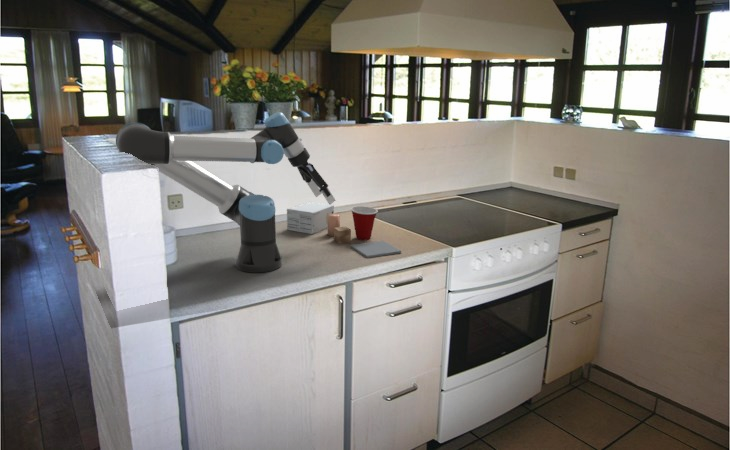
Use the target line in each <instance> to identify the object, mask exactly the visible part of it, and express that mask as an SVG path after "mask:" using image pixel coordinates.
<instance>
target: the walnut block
mask: <svg viewBox="0 0 730 450" xmlns="http://www.w3.org/2000/svg"><path fill="white" fill-rule="evenodd" d="M333 241H336V242H337V243H338V244H342V243H343V244H345V243H350V242H351V241H352V229H351V228H349V227H347V226H340V227H336V228H334V236H333Z"/></svg>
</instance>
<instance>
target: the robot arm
mask: <svg viewBox="0 0 730 450" xmlns="http://www.w3.org/2000/svg"><path fill="white" fill-rule="evenodd" d="M264 126H265V127H264V128H263V129H262V130H260V131H259V132H258V133H255V134H254V135H253V136H252V137H250V138H240V137H239V138H238V137H237V138H236V137H217V136H191V135H190V136H188V135H172V134H171V133H170V132H169V131H157V130H153V129H151V128H150V127H149V126H148V125H146V124H144V123H141V122H135V121H134V122H130V123H127V124H125V125H123V126H122V127H121V128H120V129H119V130H118V132H117V134H116V136H115V145H116V149H117V150H118V149H119V150H118V152H119V153H120V152H125V153H128V154H129V153H130V154H132V155H133V156H135V157H137V158H138V159H140V160H142V161H144V162H146V163H148V164H151V165H154V166H156V167H158V168H159V171H158V172H160V173H161V174H163V175H164V176H166V177H168V178H169V179H171V180H173V181H174V182H176V183H178V184H180V185H181V186H183V187H184V188H186V189H188V190H190V191H191V192H193V193H194V194H196V195H198V196H199V197H201V198H203V199H205V200H206V201H208V202H210V203H211V204H213V205H214V206H215V207H218V208H217V209H218V212H219V213H220V214H221V215H223V216H225V217H226V218H228V219H230V220H231V221H233V222H234V223H236V224H237V225H238V226H239V231H240V247H239V250H238V254H237V257H236V268H237V269H238V270H240V271H242V272H245V273H254V274H255V273H267V272H272V271H275V270H277V269H280V267H282V265H283V262H282V256H281V253H280V250H279V248H278V244H277V239H276V238H277V237H276V235H277V234H276V232H277V230H276V205H275V201H274V199H273V198H271V197H270V196H267V195H263V194H255V193H253V192H252V191H248V190H247V189H246V188H245V187H243V186H241V185H240V184H232V185H231V184H229V183H228V182H227V181H225V180H223V179H221V177H219V176H217V175H215V174H214V173H212V172H210V171H209V170H207V169H205V168H204V167H202V166H201V165H199V163H198V164H197V163H196V162H228V163H229V162H230V163H231V162H232V163H233V162H235V163H236V162H237V163H238V162H240V163H242V162H243V163H251V164H254V163H265V164H268V165H275V164H278V163H280V162H281V161H282V160H283V158H284V155H285V157H286V158H287V160H288V162H289V163H290V165H291V166H292V167H294V168H297V170H298V172H299V175H301V179H302V180H303V181H304V182H305V183H306V184H307V186H308V187H309V189H310V190H311V192H312V194H313V195H314V196H315V198H317V197H319V196H320V195H322V196H323V197H324V199H325V200H326V202H327V204H329V205H333V204H334V202H336V199H335V197H334V196H333V194H332V192H331V191H330V189H329V188H328V187H329V184H328V183H327V182H326V180H325V179H324V178H323V176H321V175H320V173H319V172H318V171H317V169H316V167H314V166H315V165H314V164H312V163H310V162H309V161H308V160H309V159H310V158H311V157H310V156H311V155H310V153H309V152H308V150H307V148H306V147H305V145H304V144H303V142H302V140H303V139H302V138H299V135H298V134H297V133H296V131H295V130H294V127H293V126H292V125H291V123H290V120H289V119H288V118H287V117H286V116H285V114H284V113H283V112H280V111H278V112H275V113H273V114H271V115H270V116H268V117H267V118H266V119H265V120H264Z"/></svg>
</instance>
